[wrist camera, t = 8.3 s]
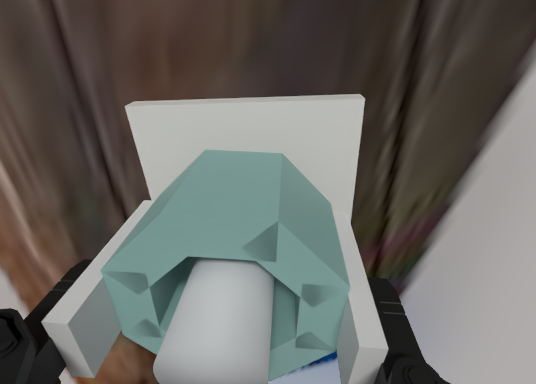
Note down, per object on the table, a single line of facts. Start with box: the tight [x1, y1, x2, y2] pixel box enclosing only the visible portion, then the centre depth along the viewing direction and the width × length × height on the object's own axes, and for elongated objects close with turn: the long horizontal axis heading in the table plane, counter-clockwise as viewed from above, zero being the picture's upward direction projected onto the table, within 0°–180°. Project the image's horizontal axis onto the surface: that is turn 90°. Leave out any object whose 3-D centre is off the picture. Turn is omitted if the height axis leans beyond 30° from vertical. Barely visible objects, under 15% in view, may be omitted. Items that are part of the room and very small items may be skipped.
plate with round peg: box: [125, 94, 365, 384], centre depth 12 cm, size 11×11×10 cm
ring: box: [100, 150, 350, 381], centre depth 12 cm, size 8×8×5 cm
